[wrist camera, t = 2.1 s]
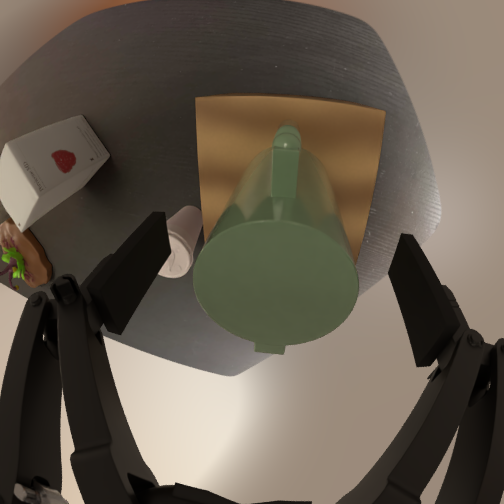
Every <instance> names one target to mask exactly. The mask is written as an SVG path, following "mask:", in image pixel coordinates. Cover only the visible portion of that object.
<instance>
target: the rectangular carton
mask: <svg viewBox="0 0 504 504" xmlns="http://www.w3.org/2000/svg"><path fill="white" fill-rule="evenodd" d="M109 157H110V154H109V153H108V151H107V150H106V148H105V147H104V146H103V144H102V143H101V141H100V140H99V138H98V137H97V136H96V134H95V133H94V131H93V130H92V128H91V127H90V125H89V124H88V123H87V121H86V120H85V118H84V117H83V115H79V116H75V117H72V118H69V119H66V120H63V121H60V122H57V123H54V124H51V125H48V126H46V127H43V128H41V129H38V130H35V131H33V132H30V133H28V134H26V135H23V136H21V137H19V138H16V139H14V140H12V141H10V142H8V143H6V144H5V147H4V149H3V152H2V155H1V158H0V200H1V202H2V204H3V206H4V208H5V209H6V211H7V212H8V213H9V215H10V216H11V218H12V219H13V221H14V222H15V224H16V225H17V227H18V228H19V230H20V231H21V232H23V231H25V230H26V229H27V228H28V227H29V226H31V225H32V224H33V223H34V222H36V221H37V220H38V219H39V218H41V217H42V216H43V215H45V214H46V213H47V212H48V211H50V210H51V209H53V208H54V207H55V206H57V205H58V204H59V203H61V202H62V201H64V200H65V199H66V198H68V197H69V196H71V195H72V194H74V193H75V192H77V191H78V190H80V189H81V188H83V187H84V186H85V185H86V183H87V182H88V181H89V180H90V179H91V178H92V176H93V175H94V174H95V173H96V172H97V171H98V169H99V168H100V167H101V166H102V165H103V164H104V163H105V162H106V160H107V159H108V158H109Z"/></svg>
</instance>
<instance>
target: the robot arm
mask: <svg viewBox="0 0 504 504" xmlns="http://www.w3.org/2000/svg"><path fill="white" fill-rule="evenodd" d="M171 253H172V252H171V246H170V240H169V235H168V229H167V222H166V216H165V212H152V213H151V214H150V215H149V216H148V217H147V218H146V220H145V221H144V222H143V223H142V224H141V225H140V226H139V227H138V228H137V229H136V230H135V231H134V232H133V233H132V234H131V235H130V237H129V238H128V239H127V240H126V241H125V242H124V243H123V244H122V245H121V246H120V248H119V249H118V250H117V251H116V252H115V253H114V254H110V255H108V256H107V257H105V258H104V259H103V260H102V261H101V262H100V263H99V264H98V265H97V267H96V268H95V269H94V270H93V272H91V273H90V275H89V276H88V277H87V278H86V279H85V281H84V282H83V283H82V284H81V285H80V287H79V286H78V283H77V281H76V279H75V277H74V276H73V275H72V274H65V275H62V276H60V277H58V278H57V279H55V280H54V281H53V283H52V284H51V286H50V290H51V292H52V293H53V295H54V297H55V299H49V298H48V296H47V295H46V293H45V292H43V291H39V292H36V293H34V294H32V295H31V296H30V297H29V298H28V300H27V302H26V304H25V307H24V310H23V313H22V315H21V318H20V321H19V324H18V327H17V330H16V333H15V336H14V340H13V343H12V347H11V350H10V354H9V358H8V362H7V366H6V370H5V375H4V379H3V384H2V390H1V396H0V504H69V503H68V501H67V500H65V499H64V498H63V497H62V496H61V490H62V464H61V447H60V446H61V444H60V418H61V397H62V388H63V395H64V401H65V406H66V412H67V417H68V422H69V426H70V431H71V435H72V439H73V443H74V447H75V451H74V452H73V453H72V454H71V457H70V461H71V466H72V469H73V473H74V476H75V479H76V482H77V484H78V487H79V490H80V493H81V495H82V498H83V500H84V503H85V504H239V503H236V502H234V501H231V500H229V499H226V498H224V497H221V496H219V495H217V494H214V493H212V492H210V491H207V490H202V489H198V488H194V487H190V486H186V485H183V484H179V483H175V485H163V486H159V484H158V482H157V480H156V479H155V476H154V475H153V473H152V471H151V470H150V468H149V467H148V466H147V465H146V464H145V462H144V461H143V459H142V456H141V454H140V452H139V450H138V447H137V445H136V442H135V440H134V438H133V435H132V433H131V430H130V427H129V425H128V422H127V419H126V417H125V414H124V411H123V408H122V405H121V402H120V399H119V396H118V393H117V389H116V386H115V382H114V379H113V375H112V372H111V368H110V364H109V360H108V356H107V352H106V348H105V343H104V339H103V334H102V332H101V330H100V328H101V326H102V325H103V323H104V325H105V327H106V329H107V331H108V332H112V333H115V334H119V335H121V334H122V332H123V331H124V329H125V327H126V325H127V324H128V322H129V320H130V318H131V317H132V315H133V313H134V312H135V310H136V308H137V307H138V305H139V303H140V302H141V300H142V298H143V297H144V295H145V294H146V292H147V290H148V289H149V287H150V285H151V284H152V282H153V281H154V279H155V278H156V276H157V274H158V273H159V271H160V270H161V268H162V267H163V265H164V264H165V262H166V260H167V259H168V257H169V256H170V254H171ZM388 275H389V278H390V280H391V283H392V286H393V289H394V292H395V295H396V297H397V301H398V304H399V307H400V310H401V313H402V316H403V319H404V322H405V326H406V329H407V333H408V336H409V340H410V343H411V347H412V351H413V355H414V359H415V363H416V366H417V367H427V366H431V364H432V363H433V362H434V361H435V360H436V358H437V361H438V364H439V365H438V366H437V367H436V369H435V370H434V371H433V372H432V373H431V374H430V375H429V377H428V378H427V379H430V380H429V382H428V384H427V386H426V388H425V390H424V391H423V393H422V395H421V397H420V399H419V400H418V402H417V404H416V406H415V407H414V409H413V411H412V412H411V414H410V416H409V417H408V419H407V420H406V422H405V423H404V425H403V426H402V428H401V430H400V431H399V432H398V434H397V435H396V437H395V438H394V440H393V441H392V443H391V444H390V445H389V447H388V448H387V449H386V451H385V452H384V453H383V455H382V456H381V458H380V459H379V460H378V461H377V462H376V464H375V465H374V466H373V468H372V469H371V470H370V471H369V472H368V474H367V475H366V476H365V477H364V478H363V479H362V480H361V481H360V483H359V484H358V485H357V486H356V487H355V488H354V489H353V490H352V491H350V492H349V493H348V494H346V495H345V496H343V497H342V498H341V499H340V500H339V501H338V502H337V503H336V504H421V500H420V495H421V494H422V492H423V490H424V488H425V487H426V486H427V484H428V483H429V481H430V479H431V477H432V476H433V474H434V473H435V471H436V469H437V468H438V466H439V464H440V462H441V461H442V459H443V457H444V455H445V453H446V451H447V449H448V447H449V445H450V443H451V441H452V439H453V437H454V435H455V433H456V431H457V428H458V426H459V429H458V434H457V438H456V442H455V446H454V449H453V453H452V457H451V460H450V463H449V467H448V470H447V473H446V476H445V479H444V482H443V484H442V487H441V489H440V492H439V495H438V497H437V500H436V502H435V504H500V501H501V498H502V494H503V491H504V338H501V339H499V340H498V341H497V342H496V344H495V345H491V344H488V343H485V342H484V339H483V337H482V336H481V334H479V333H478V332H477V331H475V330H473V329H470V328H469V326H468V324H467V322H466V319H465V317H464V315H463V313H462V311H461V309H460V308H459V305H458V303H457V302H456V299H455V297H454V295H453V293H452V292H451V290H450V289H449V288H448V287H447V286H446V285H441V283H440V281H439V279H438V277H437V276H436V274H435V272H434V270H433V268H432V266H431V264H430V263H429V261H428V259H427V257H426V256H425V254H424V252H423V251H422V249H421V247H420V246H419V244H418V242H417V241H416V239H415V238H414V236H413V235H411V234H403V233H401V235H400V239H399V242H398V245H397V248H396V251H395V254H394V257H393V260H392V263H391V266H390V268H389V271H388ZM43 334H44V340H43ZM489 384H490V388H489ZM253 504H312V501H305V502H304V501H271V502H263V503H253Z"/></svg>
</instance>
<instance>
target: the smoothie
mask: <svg viewBox="0 0 504 504" xmlns="http://www.w3.org/2000/svg"><path fill="white" fill-rule="evenodd" d="M166 222H167V229H168V235H169V240H170V246H171V252H172V253H171V254H170V256H169V257H168V259H167V260H166V262H165V264H164V265H163V267H162V268H161V270H160V271H159V273H158V274H159V275H161V276H164V277H168V278H177V277H181V276H183V275H184V274H186V273H187V271H188V270H189V268H190V267H191V265H192V262H193V252H194V248H195V245H196V242H197V240H198V237H199V234H200V231H201V228H202V225H203V217H202V212H201V211H200V210H199V209H198V208H197V207H195V206H185V207H184V208H182V209H181V210H180V211H179V212H177V213H176V214H175V215H174V216H172V217H171V218H170V219H169V220H168V221H166Z"/></svg>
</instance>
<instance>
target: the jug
mask: <svg viewBox="0 0 504 504" xmlns="http://www.w3.org/2000/svg"><path fill="white" fill-rule="evenodd" d="M193 286H194V290H195V294H196V297H197V299H198V301H199V303H200V305H201V307H202V308H203V310H204V311H205V312H206V313H207V315H208V316H209V317H210V318H211V319H212V320H213V321H214V322H216V323H217V324H218V325H219V326H220V327H222V328H223V329H225V330H227V331H228V332H230V333H232V334H234V335H236V336H238V337H240V338H243V339H246V340H249V341H252V342H254V351H255V352H262V353H271V354H281V355H283V354H284V352H285V346H286V345H295V344H301V343H306V342H309V341H313V340H316V339H318V338H321V337H323V336H325V335H327V334H328V333H330V332H332V331H333V330H335V329H336V328H337V327H338V326H340V325H341V324H342V323H343V322H344V321H345V320H346V318H347V317H348V316H349V314H350V313H351V311H352V310H353V308H354V305H355V303H356V300H357V297H358V292H359V279H358V274H357V270H356V265H355V262H354V258H353V254H352V250H351V246H350V243H349V239H348V236H347V232H346V229H345V225H344V222H343V219H342V215H341V212H340V209H339V206H338V202H337V199H336V196H335V193H334V190H333V187H332V184H331V181H330V178H329V176H328V173H327V170H326V168H325V167H324V165H323V164H322V162H321V161H320V160H319V159H318V158H317V157H316V156H315V155H314V154H312V153H311V152H309V151H308V150H306V149H303V148H302V145H301V137H300V129H299V125H298V124H297V122H295V121H294V120H291V119H286V120H284V121H282V122H281V123H280V125H279V127H278V130H277V132H276V134H275V137H274V139H273V142H272V147H270V148H267V149H265V150H263V151H262V152H260V153H259V154H257V155H256V156H255V157H254V158H253V159H252V160H251V162H250V163H249V164H248V166H247V168H246V169H245V171H244V173H243V175H242V176H241V178H240V180H239V182H238V183H237V185H236V187H235V189H234V190H233V192H232V194H231V196H230V198H229V199H228V201H227V203H226V205H225V207H224V208H223V210H222V212H221V214H220V216H219V217H218V219H217V221H216V223H215V225H214V227H213V229H212V230H211V232H210V234H209V236H208V238H207V240H206V242H205V243H204V245H203V247H202V249H201V251H200V253H199V255H198V257H197V259H196V262H195V265H194V269H193Z"/></svg>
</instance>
